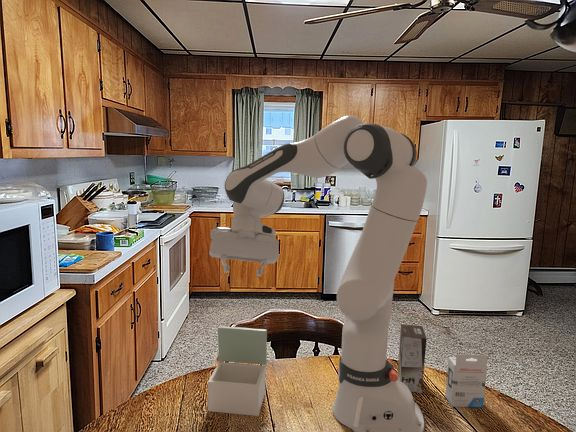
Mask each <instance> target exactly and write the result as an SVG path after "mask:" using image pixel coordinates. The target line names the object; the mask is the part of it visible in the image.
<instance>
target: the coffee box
mask: <svg viewBox="0 0 576 432" xmlns="http://www.w3.org/2000/svg"><path fill="white" fill-rule="evenodd" d="M399 329H400V332H399V334H400V335H399V344H398V347H399V348H398V349H399V350H398V362H397V363H398V364H397V376H398V379H399V380H400V381H401V382H403V383H404V384H405V385H406V386H407V387H408V388H409V390H410V392H411V393H418V394H422V393H423V385H424V373H425V372H424V371H425V363H426V362H425V361H426V349H427V340H428V338H427V336H426V333H425V331H424V327H423V326H422V325H417V324H416V325H415V324H413V325H412V324H400V328H399Z"/></svg>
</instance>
